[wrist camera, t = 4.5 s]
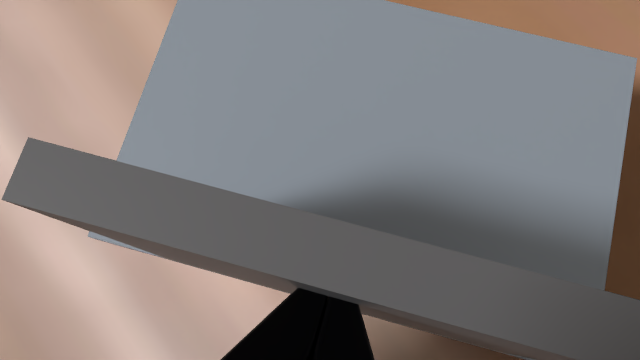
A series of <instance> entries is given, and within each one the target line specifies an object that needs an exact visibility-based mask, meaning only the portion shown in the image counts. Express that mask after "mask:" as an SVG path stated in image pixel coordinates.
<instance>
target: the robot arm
mask: <svg viewBox="0 0 640 360" xmlns="http://www.w3.org/2000/svg"><path fill="white" fill-rule="evenodd" d="M221 360H374V357H373V353H372V349H371V346H370V342H369V339H368V335H367V332H366V328H365V325H364V321H363V318H362V314H361V311H360V307H359V305H358V304H355V303H352V302H348V301H345V300H341V299H337V298H334V297H330V296H326V295H323V294H319V293H316V292H312V291H309V290H305V289H302V288H297V289H296V290H295V291H294V292H293V293H292V294H290V295H289V296H288V297H287V298H286V299H285V300H284V301H283V302H282V303H281V304H280V305H279V306H278V307H277V308H275V309H274V310H273V311H272V312H271V313H270V314H269V315H268V316H267V317H266V318H265V319H264V320H263V321H262V322H260V323H259V324H258V325H257V326H256V327H255V328H254V329H253V330H252V331H251V332H250V333H249V334H248V335H246V336H245V337H244V338H243V339H242V340H241V341H240V342H239V343H238V344H237V345H236V346H235V347H234V348H233V349H231V350H230V351H229V352H228V353H227V354H226V355H225V356H224V357H223V358H222V359H221Z"/></svg>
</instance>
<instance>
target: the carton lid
mask: <svg viewBox="0 0 640 360" xmlns="http://www.w3.org/2000/svg"><path fill="white" fill-rule="evenodd" d="M636 62H637V58H633V57H629V56H625V55H620V54H616V53H612V52H607V51H603V50H599V49H594V48H590V47H585V46H581V45H577V44H572V43H568V42H564V41H559V40H555V39H551V38H546V37H542V36H537V35H533V34H529V33H524V32H520V31H516V30H511V29H507V28H503V27H498V26H494V25H489V24H485V23H481V22H476V21H472V20H468V19H463V18H459V17H455V16H450V15H446V14H441V13H437V12H433V11H428V10H424V9H420V8H415V7H411V6H407V5H402V4H398V3H393V2H389V1H385V0H178V1H177V4H176V6H175V9H174V12H173V14H172V17H171V19H170V22H169V25H168V27H167V30H166V32H165V35H164V38H163V40H162V43H161V46H160V48H159V51H158V53H157V56H156V59H155V61H154V64H153V66H152V69H151V72H150V74H149V77H148V80H147V82H146V85H145V87H144V90H143V93H142V95H141V98H140V100H139V103H138V106H137V108H136V111H135V114H134V116H133V119H132V121H131V124H130V127H129V129H128V132H127V134H126V137H125V140H124V142H123V145H122V148H121V150H120V153H119V155H118V158H117V161H115V160H111V159H108V158H104V157H100V156H96V155H93V154H89V153H85V152H81V151H78V150H74V149H70V148H66V147H63V146H59V145H55V144H51V143H48V142H44V141H40V140H36V139H33V138H29V137H28V139H27V142H26V144H25V146H24V149H23V151H22V153H21V155H20V158H19V160H18V162H17V165H16V167H15V169H14V172H13V174H12V176H11V179H10V181H9V183H8V186H7V188H6V190H5V193H4V195H3V197H2V200H4V201H7V202H10V203H13V204H15V205H18V206H21V207H24V208H27V209H29V210H32V211H35V212H38V213H41V214H43V215H46V216H49V217H52V218H55V219H57V220H60V221H63V222H66V223H69V224H71V225H74V226H77V227H80V228H83V229H85V230H88V231H89V234H88V237H91V238H94V239H97V240H101V241H104V242H108V243H111V244H115V245H118V246H122V247H126V248H129V249H133V250H136V251H140V252H143V253H147V254H151V255H154V256H158V257H161V258H165V259H168V260H172V261H176V262H179V263H183V264H186V265H190V266H193V267H197V268H201V269H204V270H208V271H211V272H215V273H218V274H222V275H225V276H229V277H233V278H236V279H240V280H243V281H247V282H250V283H254V284H258V285H261V286H265V287H268V288H272V289H275V290H279V291H283V292H286V293H290V294H292V293H293V292H294V291H295V290H296V289H297V288H302V289H305V290H309V291H312V292H316V293H319V294H323V295H326V296H330V297H334V298H337V299H341V300H345V301H348V302H352V303H355V304H358V305H359V307H360V311H361V314H365V315H368V316H372V317H375V318H379V319H382V320H386V321H390V322H393V323H397V324H400V325H404V326H407V327H411V328H415V329H418V330H422V331H425V332H429V333H432V334H436V335H440V336H443V337H447V338H450V339H454V340H457V341H461V342H465V343H468V344H472V345H475V346H479V347H482V348H486V349H490V350H493V351H497V352H500V353H504V354H507V355H511V356H514V357H518V358H522V359H525V360H640V300H637V299H634V298H630V297H626V296H622V295H619V294H615V293H611V292H607V291H604V290H605V283H606V276H607V269H608V262H609V255H610V248H611V240H612V233H613V226H614V219H615V212H616V205H617V198H618V190H619V183H620V176H621V169H622V162H623V155H624V147H625V140H626V133H627V126H628V119H629V112H630V105H631V97H632V90H633V83H634V76H635V69H636Z"/></svg>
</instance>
